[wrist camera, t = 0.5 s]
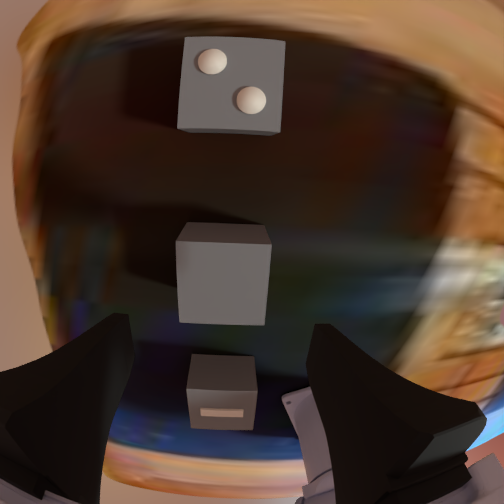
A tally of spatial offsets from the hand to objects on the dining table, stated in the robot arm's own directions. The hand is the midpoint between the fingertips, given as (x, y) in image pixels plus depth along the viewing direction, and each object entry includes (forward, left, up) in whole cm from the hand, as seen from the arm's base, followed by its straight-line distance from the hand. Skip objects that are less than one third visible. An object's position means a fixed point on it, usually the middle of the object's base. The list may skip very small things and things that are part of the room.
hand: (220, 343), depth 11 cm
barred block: (-10, +4, -10) cm, 15 cm away
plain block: (0, 0, -10) cm, 10 cm away
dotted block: (+10, -4, -10) cm, 14 cm away
